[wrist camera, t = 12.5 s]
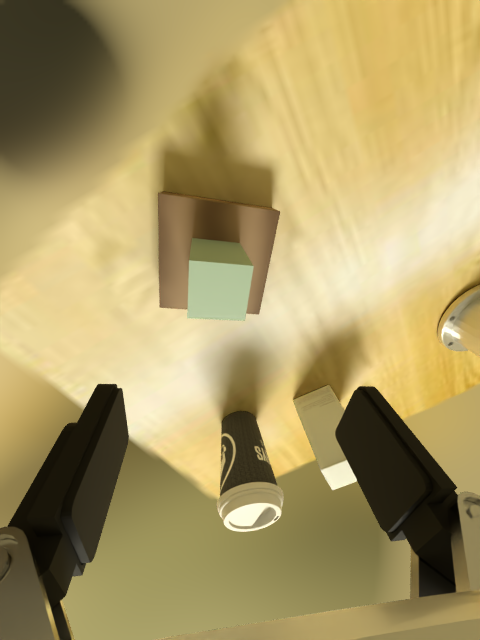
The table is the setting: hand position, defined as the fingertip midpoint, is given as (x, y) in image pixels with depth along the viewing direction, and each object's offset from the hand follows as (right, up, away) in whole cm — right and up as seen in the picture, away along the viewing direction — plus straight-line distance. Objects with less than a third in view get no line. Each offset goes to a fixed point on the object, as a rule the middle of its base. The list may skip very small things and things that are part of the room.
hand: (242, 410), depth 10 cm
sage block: (-3, +10, +17) cm, 20 cm away
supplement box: (+14, -12, +36) cm, 41 cm away
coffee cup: (0, -16, +36) cm, 39 cm away
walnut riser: (-3, +12, +20) cm, 24 cm away
